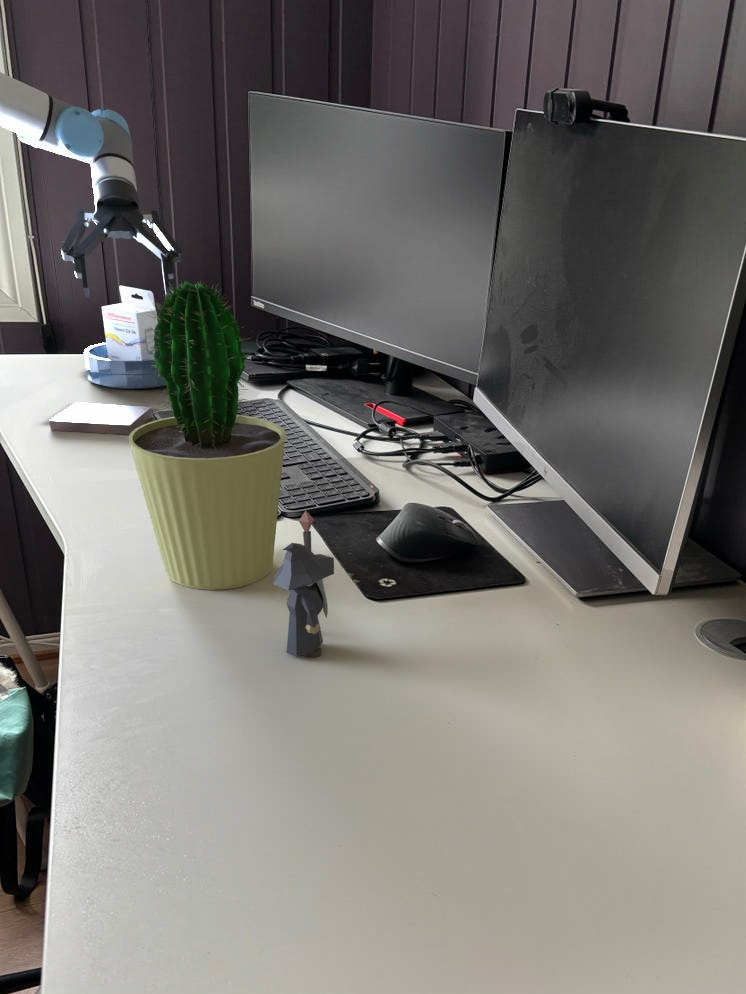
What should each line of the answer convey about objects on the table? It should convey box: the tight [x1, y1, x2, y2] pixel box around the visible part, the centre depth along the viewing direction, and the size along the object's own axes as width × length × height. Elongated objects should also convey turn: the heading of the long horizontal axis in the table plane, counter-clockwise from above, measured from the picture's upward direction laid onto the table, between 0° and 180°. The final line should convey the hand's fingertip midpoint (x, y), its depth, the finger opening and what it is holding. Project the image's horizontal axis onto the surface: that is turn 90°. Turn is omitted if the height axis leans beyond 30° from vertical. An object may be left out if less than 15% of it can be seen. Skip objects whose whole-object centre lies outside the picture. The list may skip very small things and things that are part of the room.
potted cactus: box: [128, 279, 287, 591], centre depth 97 cm, size 15×15×30 cm
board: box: [48, 402, 154, 436], centre depth 146 cm, size 12×10×2 cm
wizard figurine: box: [273, 510, 335, 658], centre depth 87 cm, size 8×6×12 cm
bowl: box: [83, 342, 166, 390], centre depth 169 cm, size 16×16×5 cm
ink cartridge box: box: [101, 285, 159, 361], centre depth 167 cm, size 9×5×15 cm, turn 62°
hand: (127, 292), depth 169 cm, fingers open, 13 cm apart
